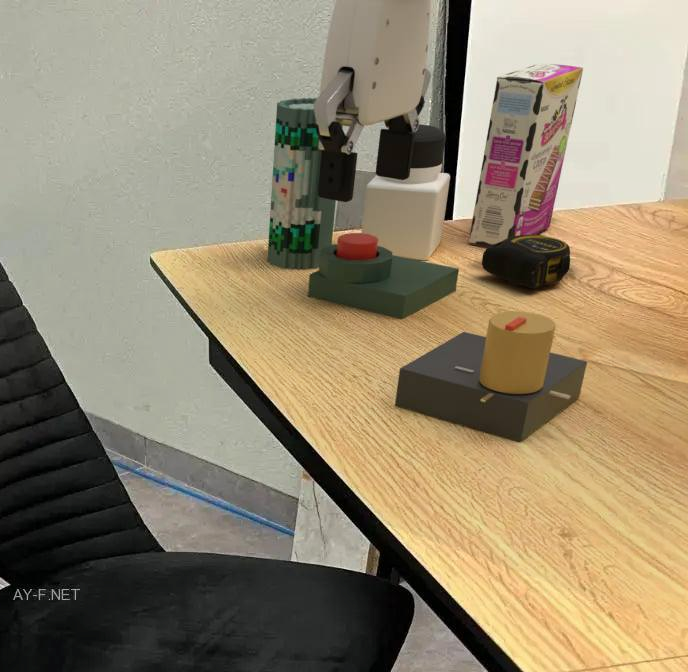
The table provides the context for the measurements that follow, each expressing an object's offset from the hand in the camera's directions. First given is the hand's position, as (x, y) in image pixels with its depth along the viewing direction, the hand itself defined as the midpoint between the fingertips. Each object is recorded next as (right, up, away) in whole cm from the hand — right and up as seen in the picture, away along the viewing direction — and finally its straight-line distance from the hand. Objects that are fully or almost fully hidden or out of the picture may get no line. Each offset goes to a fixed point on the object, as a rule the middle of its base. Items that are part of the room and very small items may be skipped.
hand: (364, 187), depth 102 cm
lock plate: (+6, -22, -16) cm, 28 cm away
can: (-3, -2, +15) cm, 16 cm away
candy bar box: (+21, +2, +21) cm, 29 cm away
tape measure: (+17, -7, +8) cm, 20 cm away
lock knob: (+6, -21, -20) cm, 30 cm away
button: (0, -5, +4) cm, 6 cm away
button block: (+3, -8, +6) cm, 10 cm away
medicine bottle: (+8, 0, +18) cm, 20 cm away
